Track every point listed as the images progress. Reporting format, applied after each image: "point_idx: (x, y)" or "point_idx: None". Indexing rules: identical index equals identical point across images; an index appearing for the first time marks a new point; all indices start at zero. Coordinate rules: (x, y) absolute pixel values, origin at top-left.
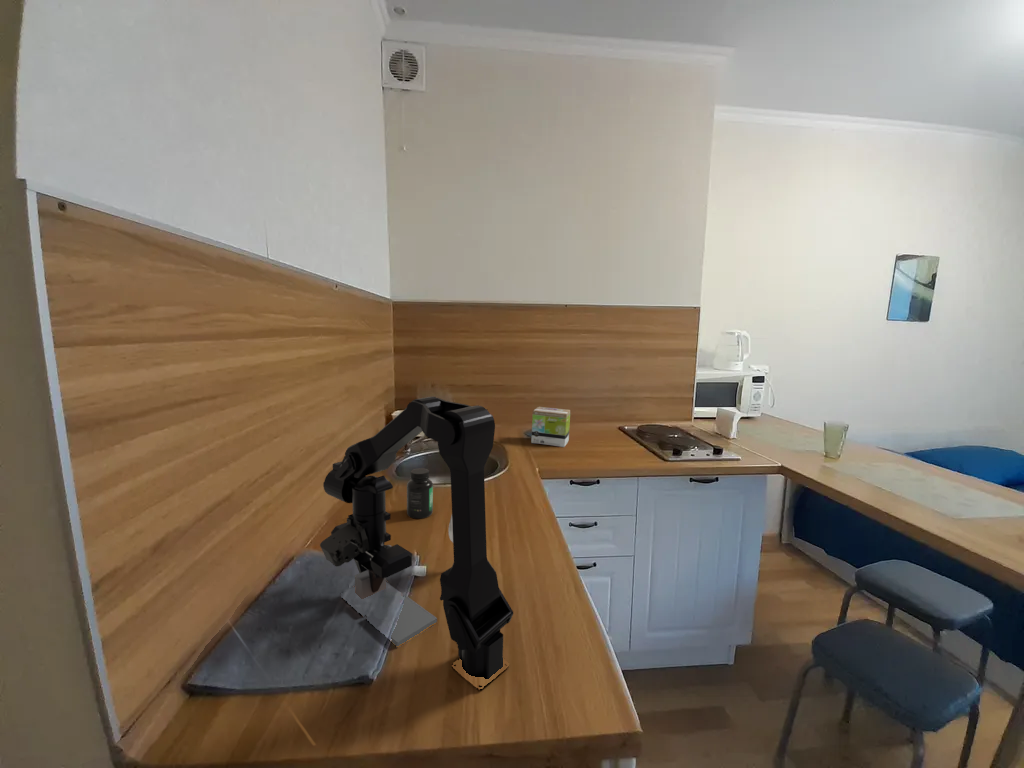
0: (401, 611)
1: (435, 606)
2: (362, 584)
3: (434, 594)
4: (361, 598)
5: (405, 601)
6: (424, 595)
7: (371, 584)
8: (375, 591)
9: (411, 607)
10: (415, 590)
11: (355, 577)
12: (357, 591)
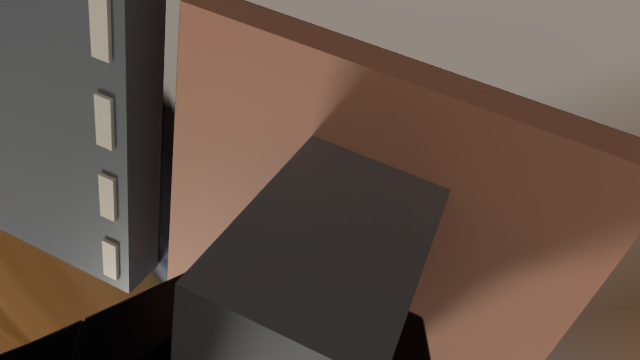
0: (2, 140)
1: (19, 259)
2: (206, 251)
3: None
4: (314, 151)
5: (73, 236)
6: None
7: None
8: None
9: (4, 196)
10: None
11: (372, 353)
12: (380, 207)
